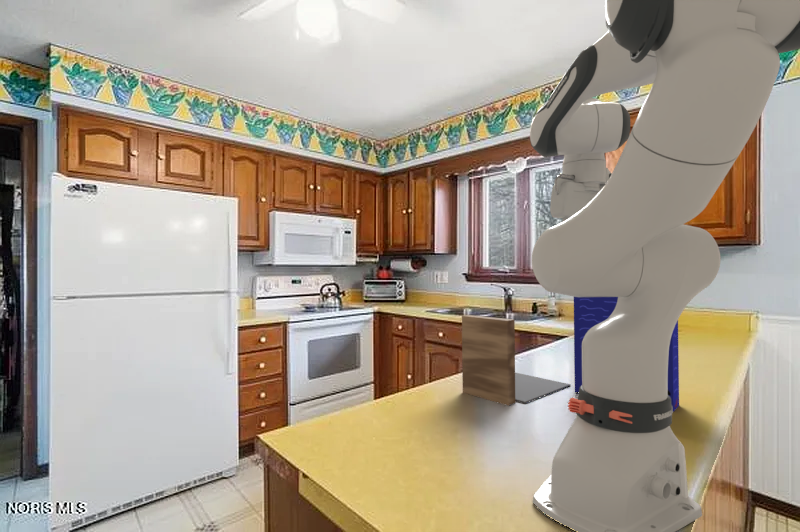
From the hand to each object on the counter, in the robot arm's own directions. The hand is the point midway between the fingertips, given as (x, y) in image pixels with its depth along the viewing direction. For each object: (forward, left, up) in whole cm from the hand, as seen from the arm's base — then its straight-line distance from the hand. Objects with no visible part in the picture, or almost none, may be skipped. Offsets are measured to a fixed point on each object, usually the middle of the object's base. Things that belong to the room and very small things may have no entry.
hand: (584, 239), depth 92 cm
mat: (+7, +22, -39) cm, 45 cm away
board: (-7, +22, -39) cm, 45 cm away
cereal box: (+17, -1, -39) cm, 42 cm away
